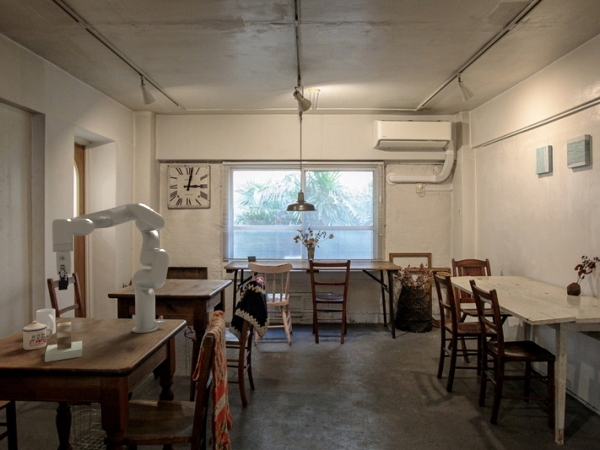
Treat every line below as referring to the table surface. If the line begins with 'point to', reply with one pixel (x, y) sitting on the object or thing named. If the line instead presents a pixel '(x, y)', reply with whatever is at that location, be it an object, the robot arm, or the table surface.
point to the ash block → (63, 329)
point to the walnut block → (64, 343)
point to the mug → (47, 319)
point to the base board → (63, 352)
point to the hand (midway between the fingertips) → (63, 288)
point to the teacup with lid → (35, 336)
